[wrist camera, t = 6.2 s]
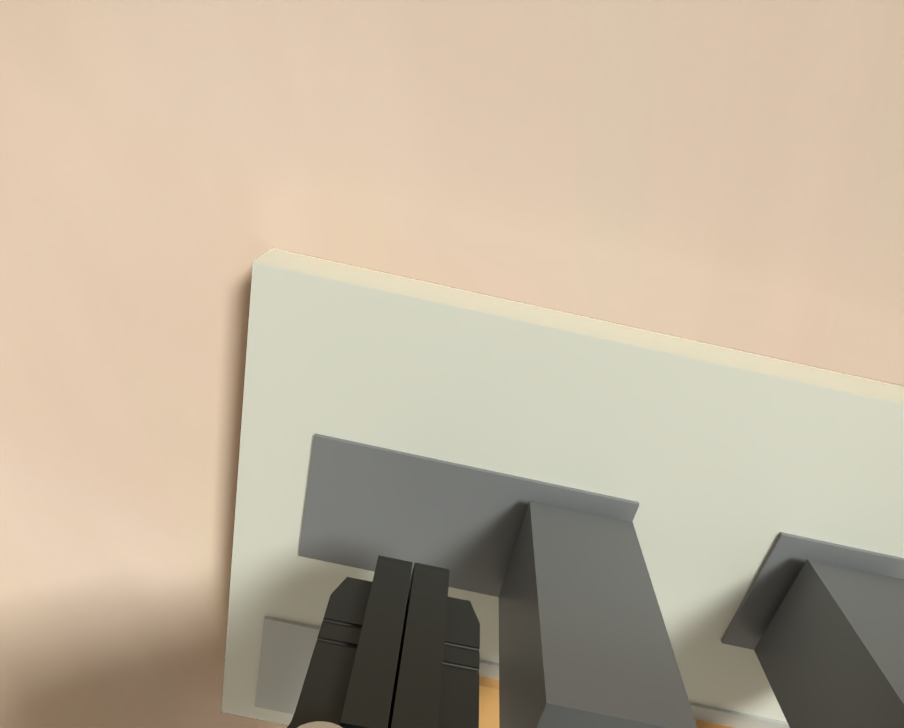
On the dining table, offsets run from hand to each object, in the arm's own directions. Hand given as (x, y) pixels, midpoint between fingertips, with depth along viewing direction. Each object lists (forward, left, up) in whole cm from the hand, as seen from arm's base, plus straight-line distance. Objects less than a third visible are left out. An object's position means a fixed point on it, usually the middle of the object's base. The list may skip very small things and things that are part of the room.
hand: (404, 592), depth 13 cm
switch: (0, +4, -2) cm, 4 cm away
